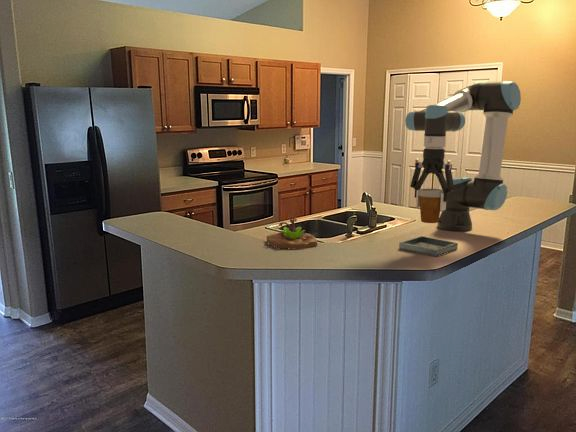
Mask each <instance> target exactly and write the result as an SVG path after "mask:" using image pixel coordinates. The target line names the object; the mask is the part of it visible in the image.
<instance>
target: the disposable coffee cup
mask: <svg viewBox="0 0 576 432" xmlns="http://www.w3.org/2000/svg"><path fill="white" fill-rule="evenodd" d="M442 192H443V190H442V188H441V189H440V188H421V189H420V190H419V193H418V194H419V200H420V207H419V208H420V209H419V211H420V221H421V222H422V223H424V224H438V221H439V217H440V215H441V211H440V203H441V193H442Z"/></svg>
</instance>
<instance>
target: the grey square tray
mask: <svg viewBox="0 0 576 432" xmlns="http://www.w3.org/2000/svg"><path fill="white" fill-rule="evenodd" d="M398 245H399V247H398V249H399V250H404V251H407V252H410V253H411V252H412V253H416V254H421V255H425V256H430V257H435V258H437V257H440V256H443V255H445V254H444V253H446V254H448V253H451V252H453V250H454V251H457V250H458V246H459V242H456V241H450V240H445V239H439V238H434V237H428V236H423V235H420V236H417V237H413V238H410V239H407V240H404V241H400V242H398ZM456 249H457V250H456ZM450 251H451V252H450ZM447 252H448V253H447ZM442 254H443V255H442ZM439 255H440V256H439Z"/></svg>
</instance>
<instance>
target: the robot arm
mask: <svg viewBox="0 0 576 432" xmlns="http://www.w3.org/2000/svg"><path fill="white" fill-rule="evenodd" d="M521 100H522V96H521V90H520V87H519V85H518V83H516V82H514V81H511V80H510V81H507V80H501V81H487V82H478V83H474V84H471V85H469V86H466V87H463V88H462V89H459V90H457V91H455V92H454V93H453V94H452V95H451V96H449V97H447V98H445V99H444V100H441V101H439V102H437V103H435V104H430V105H427V106H426V107H425V108H424V109H422V110H420V111H417V110H415V111H409V112H408V113H407V115H406V116H405V120H404V122H405V127H406V129H407V130H408V131H415V132H418V131H419V132H424V135H423V147H424V148H423V151H422V152H423V153H422V158H423V161H417V162H414V172H413V175H412V178H411V182H410V188H412V189H414V198H415V208H420V200H419V194H418V193H419V190H420V189H422V186H423V185H424V183H425V181H426V179H427V177H428V176H429V175H430V174H433V175H435V176H436V177H437V180H438V183H439V185H440V187H441V190H443V192H442V193H441V203H440V216H439V221H438V223H436V224H437V228H438V229H441V230H445V231H451V232H467V231H472V230H473V222H472V219H471V218H472V217H471V214H470V208H471V209H472V208H473V209H481V210H485V211H497V210H499V209H501V208H502V206H503V205H504V204H505V202H506V199H507V196H508V187H507V185H506V184H504V178H502V176H501V173H502V172H501V171H502V164H503V157H504V150H505V143H506V137H507V129H508V123H509V119H510V118H511V117H512V116H513V114H514V111H516V110H517V109H519V107H520V105H521ZM468 111H483V113H482V114H483V115H484V117H485V118H486V119H485V126H484V130H483V131H484V133H483V140H482V147H481V155H480V162H479V167H478V168H479V169H478V174H477V175H475V176H474V179H473V178H472V177H471V176H469V177H468V176H464V177H453V173H452V169H453V164H451V163H449V164H448V163H445V161H444V160H445V153H446V152H445V151H446V149H444V148H445V147H446V137H447V132H453V133H455V132H457V131H460V130H462V129H463V128H464V126H465V124H466V117H465V114H464V113H466V112H468ZM422 168H423V170H422ZM443 169H444V172H443Z"/></svg>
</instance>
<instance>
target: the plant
mask: <svg viewBox="0 0 576 432" xmlns="http://www.w3.org/2000/svg"><path fill="white" fill-rule="evenodd" d="M297 221H298V219H297V217H295V216H294V217H293V218H290V220H289V223H291V225H290V224H289V223H288V222H279V223H278V227H281V228H282V226H283V225H286V226H284V227H283V228H282V229H283V230H282V229H280V231H279V232H278V233H273V234H270V235H267V236H266V243H269V244H271V245H273V246H275V247H277V248H305V249H309V248H313V247H318V240H317V238H316V237H315V235H312V234H311V233H307V232H305V231H306V230H305V229H303V230H302V227H301V226H298V227H295V223H297ZM273 246H272V247H273ZM275 247H274V248H275ZM308 247H309V248H308ZM277 248H276V249H277Z"/></svg>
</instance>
